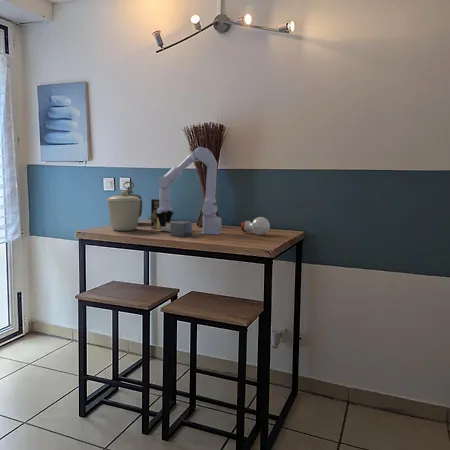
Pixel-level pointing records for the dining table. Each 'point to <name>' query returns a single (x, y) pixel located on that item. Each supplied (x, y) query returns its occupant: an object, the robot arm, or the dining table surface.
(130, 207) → the canister
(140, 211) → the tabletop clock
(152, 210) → the coffee box
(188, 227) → the housing
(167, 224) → the lever
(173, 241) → the dining table surface
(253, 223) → the potion bottle
